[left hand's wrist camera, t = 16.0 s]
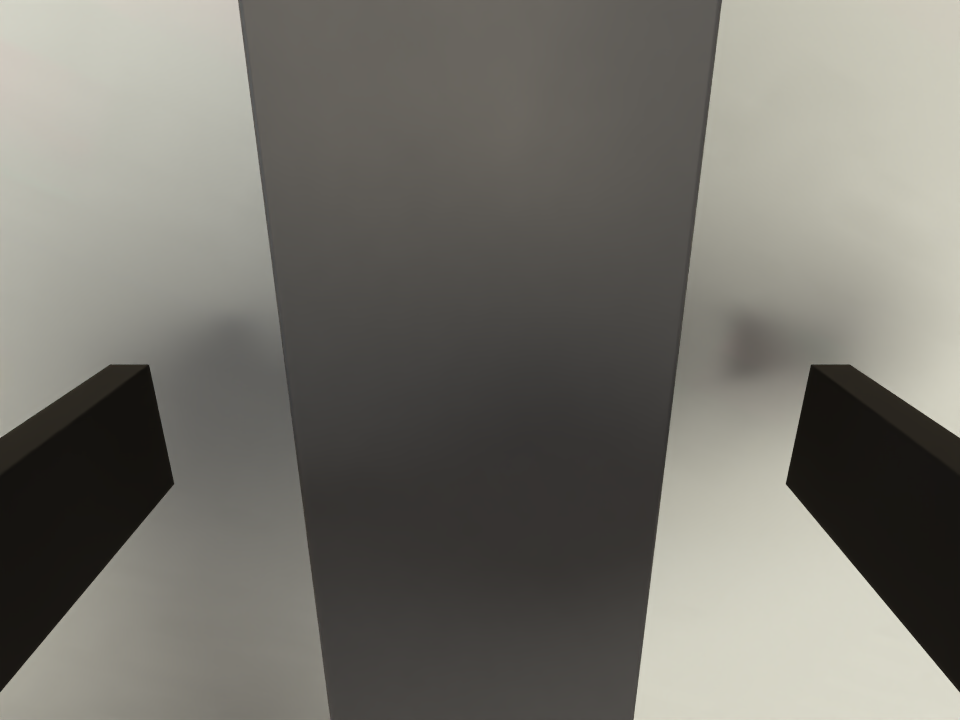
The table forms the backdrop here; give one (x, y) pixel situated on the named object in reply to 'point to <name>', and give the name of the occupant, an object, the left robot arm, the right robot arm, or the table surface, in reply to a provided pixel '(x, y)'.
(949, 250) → the table surface
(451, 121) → the bar
